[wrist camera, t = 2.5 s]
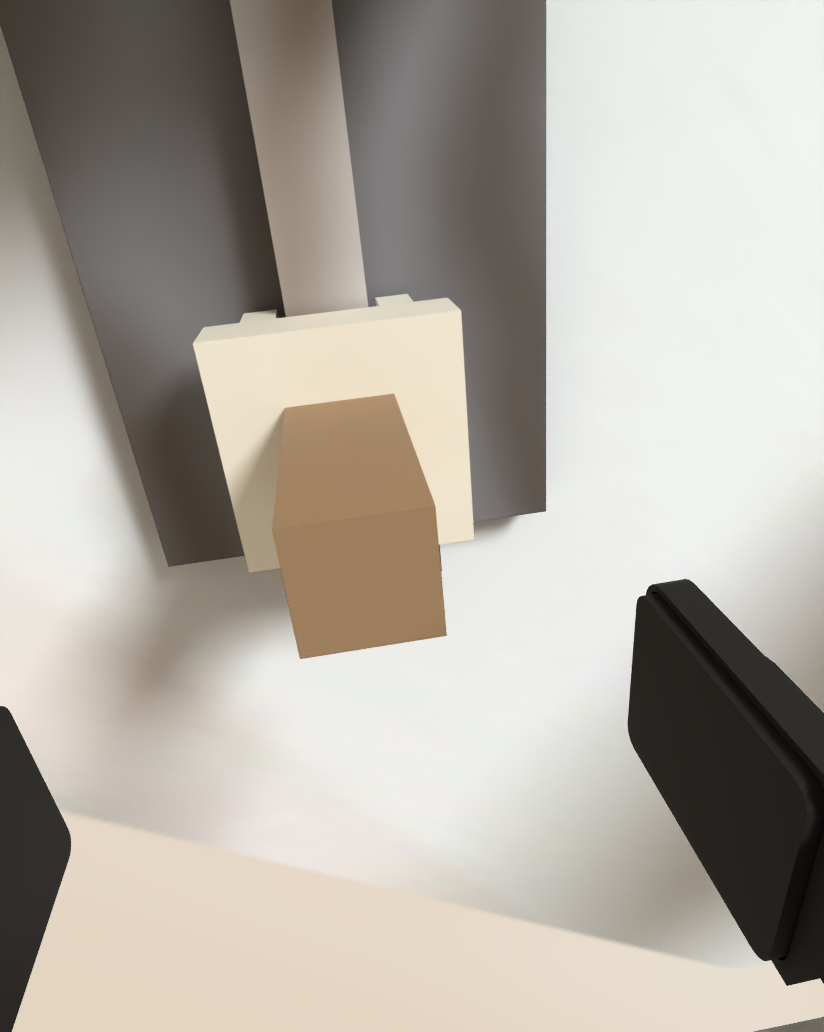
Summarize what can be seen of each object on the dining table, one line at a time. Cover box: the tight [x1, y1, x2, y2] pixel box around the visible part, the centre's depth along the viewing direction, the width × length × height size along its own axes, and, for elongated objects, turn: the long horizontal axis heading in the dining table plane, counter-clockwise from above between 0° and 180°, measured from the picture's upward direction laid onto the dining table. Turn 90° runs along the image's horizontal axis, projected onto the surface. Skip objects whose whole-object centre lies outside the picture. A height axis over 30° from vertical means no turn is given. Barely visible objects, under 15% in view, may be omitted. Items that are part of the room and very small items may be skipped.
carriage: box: [193, 294, 474, 659], centre depth 18 cm, size 7×7×10 cm
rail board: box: [0, 0, 546, 571], centre depth 15 cm, size 15×28×12 cm, turn 6°
